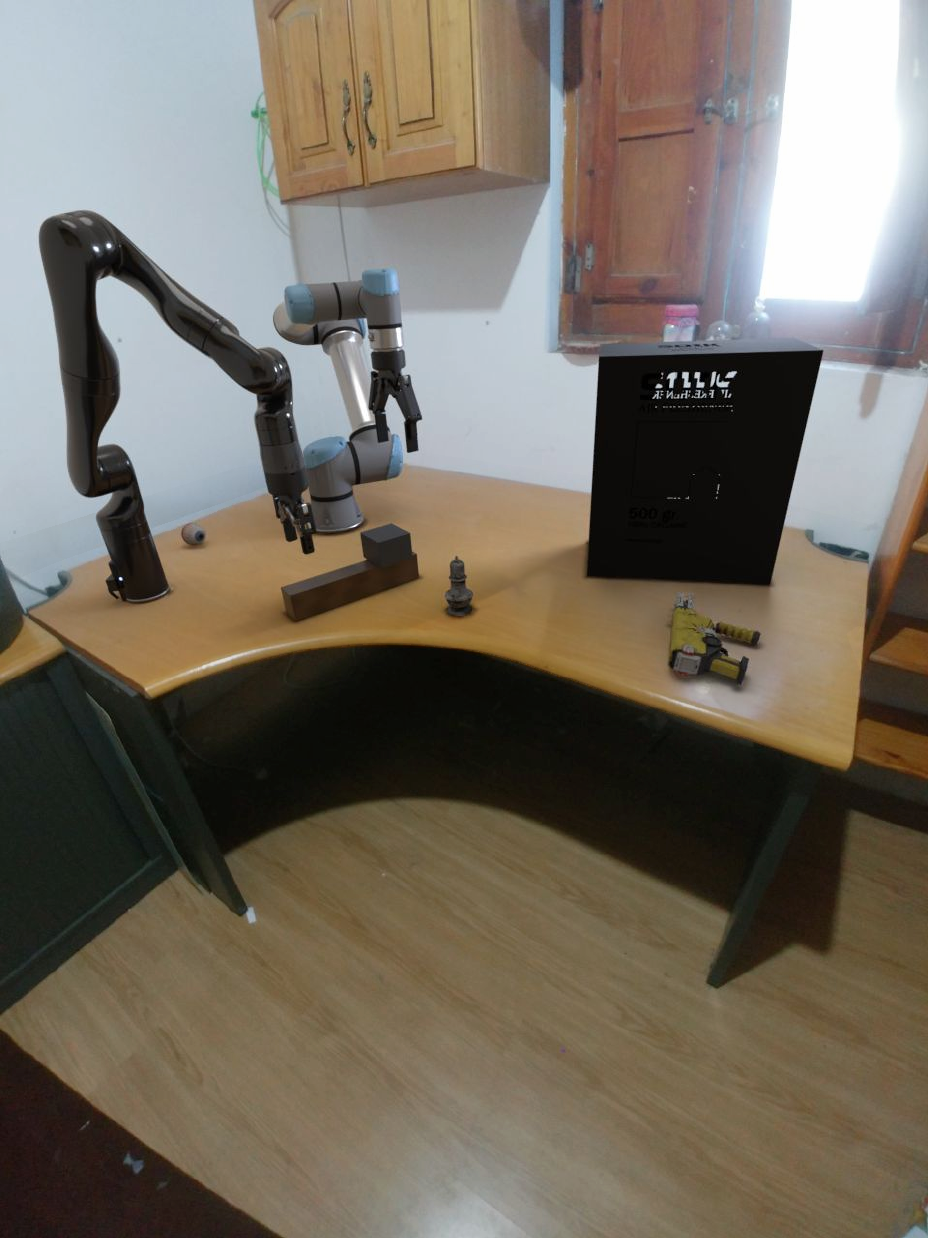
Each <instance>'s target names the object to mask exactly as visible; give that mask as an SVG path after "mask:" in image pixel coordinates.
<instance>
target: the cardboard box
mask: <svg viewBox="0 0 928 1238" xmlns="http://www.w3.org/2000/svg"><path fill="white" fill-rule="evenodd" d="M598 353H599V354H598V363H597V364H598V367H597V383H596V385H597V386H596V387H597V388H596V403H595V417H594V418H595V419H594V438H593V456H592V473H591V490H590V491H591V492H590V508H589V527H588V543H587V545H588V546H587V561H586V577H587V578H608V579H609V578H610V579H628V580H629V579H630V580H631V579H632V580H633V579H634V580H653V581H654V580H655V581H676V582H677V581H678V582H697V583H698V582H700V583H723V584H744V585H745V584H746V585H765V586H767V585H768V586H771V584H772V579H773V575H774V571H775V566H776V560H777V557H778V553H779V549H780V543H781V539H782V535H783V530H784V526H785V522H786V518H787V513H788V509H789V506H790V505H789V504H790V500H791V495H792V492H793V486H794V482H795V478H796V475H797V474H796V473H797V469H798V466H799V460H800V456H801V451H802V446H803V442H804V438H805V434H806V431H807V427H808V426H807V425H808V421H809V416H810V412H811V407H812V403H813V398H814V394H815V390H816V386H817V381H818V377H819V372H820V369H821V363H822V359H823V355H824V349H822V348H819V347H817V346H815V345H812V344H811V343H808V342H805V341H802V340H800V339H798V338H795V337H777V338H776V337H775V338H772V337H771V338H746V339H745V338H743V339H739V338H738V339H713V340H709V339H708V340H683V341H682V340H681V341H679V340H678V341H651V342H649V341H648V342H647V341H646V342H621V343H619V342H618V343H600V344H599V352H598ZM732 372H733V373H734V372H735V373H734V375H733V376H732V377H727V376H728V375H729V373H732ZM674 373H676V377H675V378H673V384H672V387H670V384H671V378H670V377H669V376H670V374H674ZM683 373H688V376H687V383H690V384H689V387H685V382H686V381H685V378H684V377H683ZM696 373H699V378H698V377H696ZM713 373H715V376H714V382H713V383H712V379H713ZM668 377H669V378H668ZM717 381H718V383H719V384H721V383H728V384H727V386H719V385H718V383H717ZM698 382H699V383H700V384H701V383H702V384H703V387H701V386H700V387H699V386H698ZM657 385H660V386H661V387H657ZM697 386H698V387H697Z"/></svg>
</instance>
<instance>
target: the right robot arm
mask: <svg viewBox="0 0 928 1238" xmlns="http://www.w3.org/2000/svg"><path fill="white" fill-rule="evenodd" d="M400 289H401V288H400V285H399V278H398V272H397V271H396V269H394V268H373V269H363V271H362V273H361V279H359V280H353V281H352V280H349V281H338V282H337V281H336V282H322V283H321V282H319V283H297V284H292V285H287V286H285V287H284V291H283V292H284V294H283V296H284V297H283V299H284V301H282V302H280V303H279V304H278V305H277V306H276V308H274V312H273V315H272V323H273V327H274V329H275V331H276V332H277V334H278V335H279V336H280V337H281V338H282V339H284V340H285V341H287V342H289V343H292V344H295V345H298V346H319V345H321V348H322V351H323V352H324V354H326V355H327V356H329V357H330V359H331V362H332V366H333V370H334V373H335V377H336V380H337V383H338V387H339V390H340V394H341V397H342V400H343V401H342V402H343V405H344V407H345V408H344V409H345V412H346V414H347V415H346V416H347V417H348V421H349V425H350V428H351V432H350V433H349V435H348V441H347V440H346V438H345V437H343V436H341V435H340V436H339V435H336V436H327V437H323V438H320V439H317V440H314V441H312V442H310V443H308V444H307V445H305V447H304V448H303V450H302V454H303V459H304V464H305V469H306V475H307V480H308V492H309V498H310V504H311V508H312V512H313V517H314V522H315V527H316V531H317V533H316V534H317V535H323V536H324V535H325V536H327V535H329V536H331V535H339V534H340V535H341V534H345V533H350V532H353V531H355V530H357V529H359V528H361V527H362V526H363V525H364V523H365V519H364V514H363V512H362V510H361V508H360V505H359V504H358V501H357V500H356V498H355V495H354V489H353V486H359V485H364V484H370V483H376V482H383V481H388V480H391V479H396V478H398V477H399V476H400V475H401V474H402V471H403V466H404V452H403V444H402V440H401V437H400V436H399V434H395V433H392V432H391V429H390V426H389V425H388V422H387V421H388V420H387V413H386V412H387V411H386V409H385V408H386V405H387V402H388V399H389V396H391V397H392V398H393V399H395V402H396V404H397V405H398V408H399V410H400V412H401V414H402V416H403V418H404V422H403V426H404V436H405V446H406V453H408V454H410V453H415V452H419V451H420V449H419V441H418V440H419V439H418V422H419V421H422V420H423V416H422V412H421V409H420V406H419V403H418V400H417V397H416V393H415V390H414V387H413V383H412V376H411V374H404V375H403V372H402V369H404V368H405V367H406V366H407V363H406V361H407V360H406V352H405V350H404V349H403V347H405V340H404V331H403V329H404V328H403V323H402V322H403V320H402V310H401V309H402V308H401V307H402V306H401V299H400V298H401V297H400V296H401V295H400ZM365 319H366V322H365ZM366 323H367V327H366ZM367 332H368V335H367ZM366 335H367V339H368V340H369V341H368V342H369V348H370V349H371V350H372V351H371V352H370V359H371V367H372V370H371V371H370V378H369V373H368V370H367V367H366V364H365V361H364V358H363V354H362V351H361V348H362V346H363V343H364V340H365V338H366Z"/></svg>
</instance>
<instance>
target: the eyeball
mask: <svg viewBox="0 0 928 1238" xmlns="http://www.w3.org/2000/svg"><path fill="white" fill-rule="evenodd" d="M180 536H181V539H182V540H183V542H184V543H185V544H187V545H188V546H191V547H195V546H200V545H201V544H203V543H204V541H206V537H207V533H206V530H205V528H204V527H203V526H202V525H201V524H198V523H197V522H189V523H187V524H185V525H184V526H183V527H182V528H181V532H180Z"/></svg>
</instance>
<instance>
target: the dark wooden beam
mask: <svg viewBox="0 0 928 1238" xmlns="http://www.w3.org/2000/svg"><path fill="white" fill-rule="evenodd" d="M412 555H413V558H412V559H409V560H406V561H403V562H400V563H397V564H394V565H391V566H388V567H385V568H382V569H381V568H379V567H378V566H376V565H375V564H373V563H372V562H370V561H368V560H367V559H365V560H361V561H358V562H354V563H353V564H350V565H346V566H343V567H340V568H336V569H333V570H331V571H328V572H327V571H326V572H323V573H321V574H318V575H315V576H312V577H309V578H306V579H302V580H299V581H296V582H293V583H290V584H287V585H284V586H283V585H282V586H281V587H280V591H281V596H282V600H283V605H284V608H285V613H286V614H287V615H288V617H290V618H291V619H292V620H293V621H294V622H299V621H301V620H304V619H308V618H310V617H313V616H315V615H319V614H321V613H324V612H327V611H329V610H334V609H335V608H339V607H341V606H344V605H346V604H349V603H352V602H354V601H358V600H361V599H364V598H366V597H368V596H369V597H370V596H372V595H375V594H378V593H380V592H381V593H382V592H384V591H386V590H389V589H392V588H395V587H397V586H401V585H403V584H405V583H408V582H411V581H414V580H418V579H419V578H420V573H419V572H420V571H419V562H418V553H416V552H415V551H413V550H412Z"/></svg>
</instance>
